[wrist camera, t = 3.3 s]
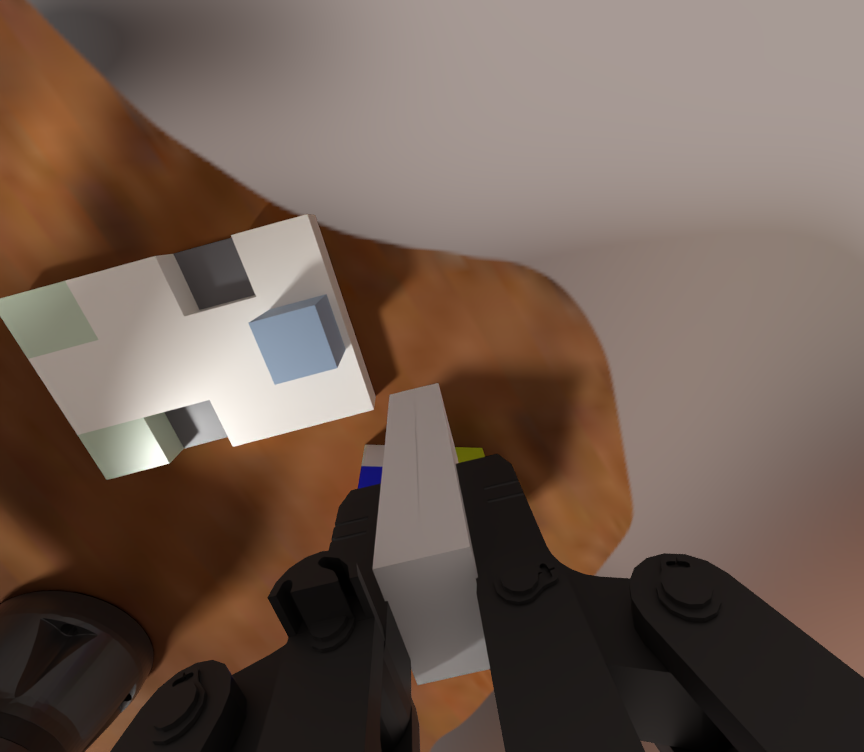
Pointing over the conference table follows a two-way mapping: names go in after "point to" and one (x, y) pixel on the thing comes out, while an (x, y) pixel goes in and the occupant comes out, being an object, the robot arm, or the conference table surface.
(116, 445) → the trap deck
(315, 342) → the block
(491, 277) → the conference table surface
